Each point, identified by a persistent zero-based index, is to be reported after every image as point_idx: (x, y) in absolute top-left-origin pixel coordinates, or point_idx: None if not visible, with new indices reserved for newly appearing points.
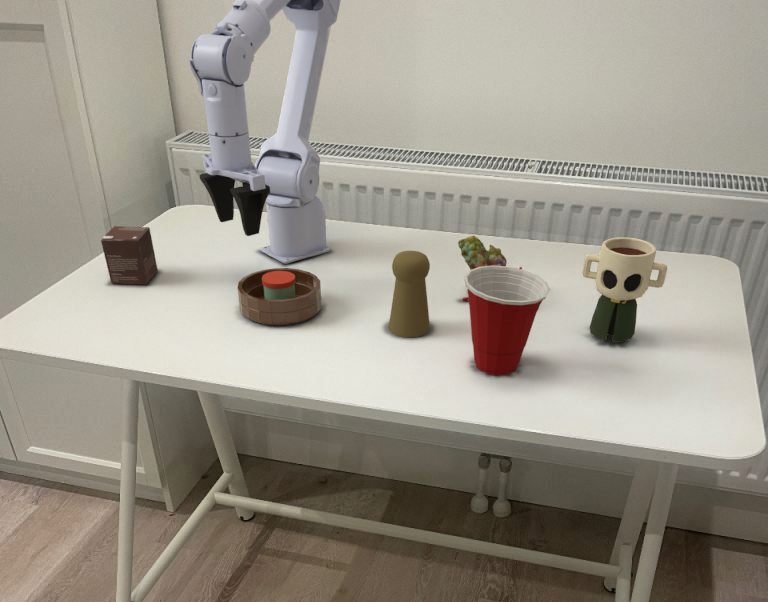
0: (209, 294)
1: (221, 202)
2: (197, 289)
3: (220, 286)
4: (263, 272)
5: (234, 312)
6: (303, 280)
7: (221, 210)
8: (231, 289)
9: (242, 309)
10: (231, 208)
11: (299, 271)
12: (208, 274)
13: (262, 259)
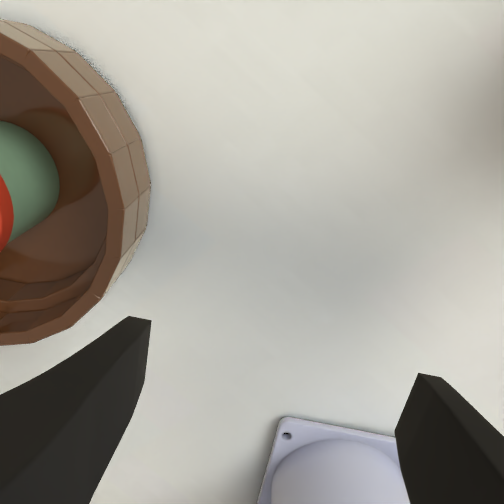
0: (307, 91)
1: (459, 483)
2: (383, 91)
3: (329, 171)
4: (105, 247)
5: (103, 40)
6: (16, 316)
7: (441, 431)
8: (275, 179)
9: (16, 23)
10: (414, 485)
11: (15, 331)
12: (449, 218)
13: (376, 406)
